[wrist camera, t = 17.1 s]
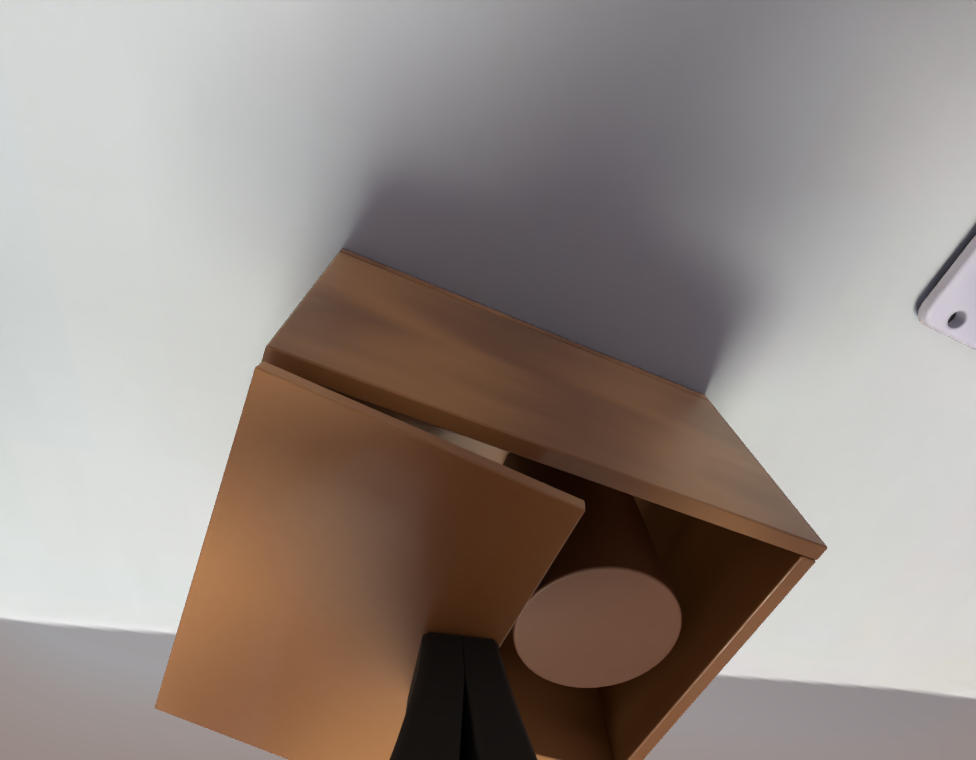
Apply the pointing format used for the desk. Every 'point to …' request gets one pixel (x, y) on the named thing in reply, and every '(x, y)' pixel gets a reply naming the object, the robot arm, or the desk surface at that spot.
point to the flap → (346, 571)
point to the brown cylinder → (597, 593)
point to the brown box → (576, 450)
